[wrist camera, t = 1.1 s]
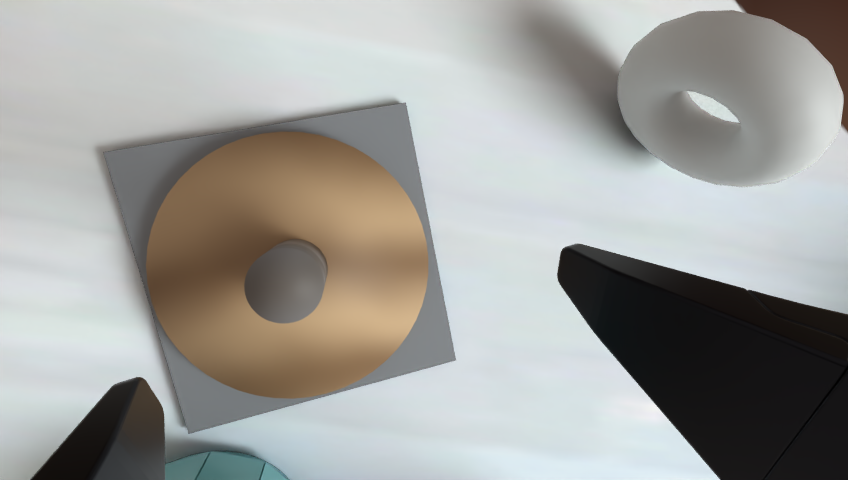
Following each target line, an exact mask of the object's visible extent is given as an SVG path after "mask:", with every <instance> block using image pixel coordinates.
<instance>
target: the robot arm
mask: <svg viewBox="0 0 848 480" xmlns="http://www.w3.org/2000/svg"><path fill="white" fill-rule="evenodd" d="M557 277H558V281H559V283H560V285H561V287H562V288H563V289H564V291H565V292H566V294H567V295H568V297H569V298H570V299H571V301H572V302H573V304H574V305H575V307H576V308H577V309H578V311H579V312H580V314H581V315H582V316H583V318H584V319H585V321H586V322H587V324H588V325H589V326H590V328H591V329H592V330H593V332H594V333H595V334H596V336H597V337H598V338H599V339H600V340H601V342H602V343H603V344H604V345H605V346H606V347H607V349H608V350H609V351H610V352H611V353H612V354H613V356H614V357H615V358H616V359H617V360H618V361H619V363H620V364H621V365H622V366H623V367H624V368H625V369H626V371H627V372H628V373H629V374H630V375H631V376H632V378H633V379H634V380H635V381H636V382H637V383H638V385H639V386H640V387H641V388H642V389H643V390H644V392H645V393H646V394H647V395H648V396H649V397H650V399H651V400H652V401H653V402H654V403H655V404H656V405H657V407H658V408H659V409H660V410H661V411H662V412H663V414H664V415H665V416H666V417H667V418H668V419H669V421H670V422H671V423H672V424H673V425H674V426H675V428H676V429H677V430H678V431H679V432H680V433H681V435H682V436H683V437H684V438H685V439H686V440H687V442H688V443H689V444H690V445H691V446H692V447H693V448H694V450H695V451H696V452H697V453H698V454H699V455H700V457H701V458H702V459H703V460H704V461H705V462H706V464H707V465H708V466H709V467H710V468H711V469H712V471H713V472H714V473H715V474H716V475H717V476H718V478H719V479H720V480H848V314H844V313H839V312H835V311H831V310H826V309H822V308H818V307H814V306H809V305H805V304H801V303H797V302H793V301H789V300H786V299H782V298H778V297H774V296H770V295H766V294H763V293H759V292H756V291H752V290H748V291H747V290H746V289H744V288H741V287H737V286H733V285H730V284H726V283H722V282H719V281H715V280H711V279H708V278H704V277H700V276H697V275H693V274H689V273H686V272H682V271H678V270H675V269H671V268H667V267H664V266H660V265H656V264H653V263H649V262H645V261H642V260H638V259H634V258H631V257H627V256H623V255H620V254H616V253H612V252H609V251H605V250H601V249H598V248H594V247H590V246H587V245H583V244H574V245H570V246H567V247H565V248H563V249H562V251H561V254H560V260H559V267H558V273H557ZM31 480H165V434H164V412H163V408H162V406H161V404H160V402H159V400H158V399H157V397H156V396H155V394H154V393H153V391H152V390H151V388H150V386H149V385H148V383H147V382H146V380H145V379H143V378H141V377H136V378H133V379H129V380H126V381H123V382H120V383H117V384H115V385H113V386H112V387H111V388H110V389H109V390H108V391H107V393H106V394H105V395H104V396H103V397H102V398H101V399H100V401H99V402H98V403H97V404H96V405H95V406H94V407H93V409H92V410H91V411H90V412H89V413H88V414H87V415H86V417H85V418H84V419H83V420H82V421H81V422H80V423H79V425H78V426H77V427H76V428H75V429H74V430H73V431H72V433H71V434H70V435H69V436H68V437H67V438H66V439H65V441H64V442H63V443H62V444H61V445H60V446H59V447H58V449H57V450H56V451H55V452H54V453H53V454H52V456H51V457H50V458H49V459H48V460H47V461H46V462H45V464H44V465H43V466H42V467H41V468H40V469H39V470H38V472H37V473H36V474H35V475H34V476H33V477H32V478H31Z"/></svg>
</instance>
